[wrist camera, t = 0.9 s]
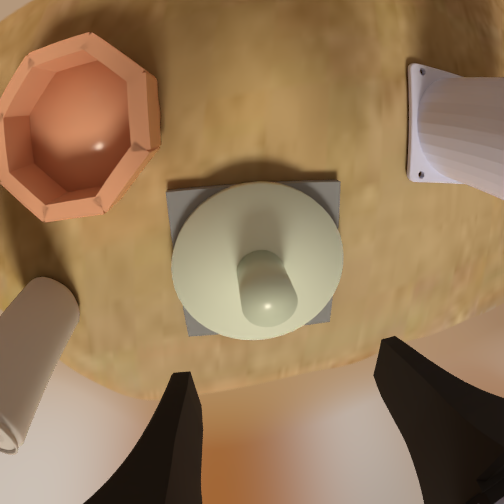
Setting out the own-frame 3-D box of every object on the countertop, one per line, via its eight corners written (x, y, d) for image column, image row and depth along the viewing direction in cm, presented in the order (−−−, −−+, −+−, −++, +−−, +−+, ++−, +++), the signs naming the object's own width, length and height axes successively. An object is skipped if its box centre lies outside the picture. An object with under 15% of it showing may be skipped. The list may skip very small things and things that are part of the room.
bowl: (158, 37, 13) (145, 18, 10) (168, 190, 17) (157, 207, 14) (23, 74, 13) (-9, 70, 9) (38, 209, 16) (8, 228, 13)
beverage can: (21, 273, 18) (-70, 384, 7) (72, 271, 18) (-15, 405, 8) (40, 326, 20) (-23, 443, 9) (89, 329, 20) (36, 465, 10)
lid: (343, 178, 17) (377, 196, 14) (331, 323, 22) (352, 363, 18) (161, 189, 17) (146, 211, 13) (186, 338, 21) (182, 383, 17)
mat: (336, 179, 18) (340, 181, 17) (327, 316, 22) (329, 321, 22) (167, 190, 17) (165, 192, 17) (189, 331, 21) (188, 336, 21)
